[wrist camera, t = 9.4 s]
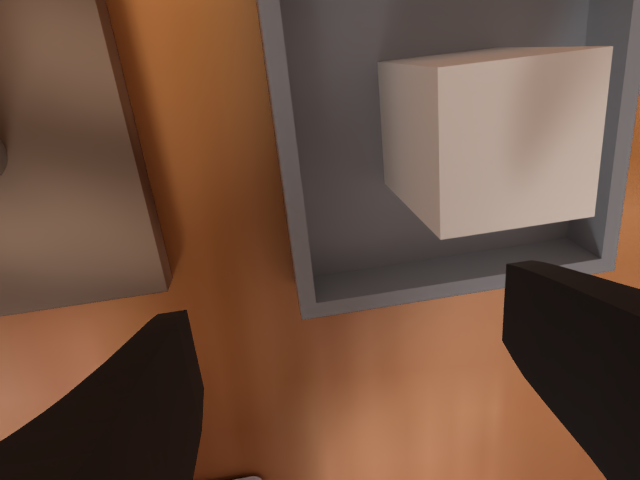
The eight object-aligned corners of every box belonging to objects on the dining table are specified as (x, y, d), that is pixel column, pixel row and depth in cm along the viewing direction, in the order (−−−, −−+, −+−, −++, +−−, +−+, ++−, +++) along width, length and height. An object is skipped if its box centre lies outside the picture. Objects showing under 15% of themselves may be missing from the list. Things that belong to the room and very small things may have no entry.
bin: (567, 242, 22) (614, 270, 19) (295, 283, 21) (301, 320, 18) (598, -79, 17) (665, -104, 14) (249, -45, 16) (249, -66, 13)
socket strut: (498, 47, 17) (612, 46, 12) (494, 168, 19) (594, 216, 13) (377, 61, 17) (437, 67, 11) (384, 183, 19) (440, 240, 13)
